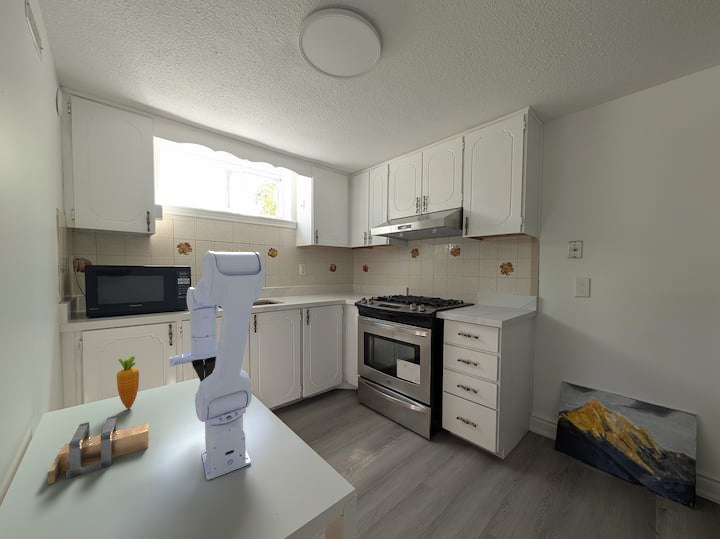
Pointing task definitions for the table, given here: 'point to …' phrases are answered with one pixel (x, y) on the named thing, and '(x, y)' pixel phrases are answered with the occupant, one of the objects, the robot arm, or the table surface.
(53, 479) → the bar
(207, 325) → the robot arm
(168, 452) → the table surface
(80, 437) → the gray metal beam bracket
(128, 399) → the carrot
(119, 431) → the pine wood beam
